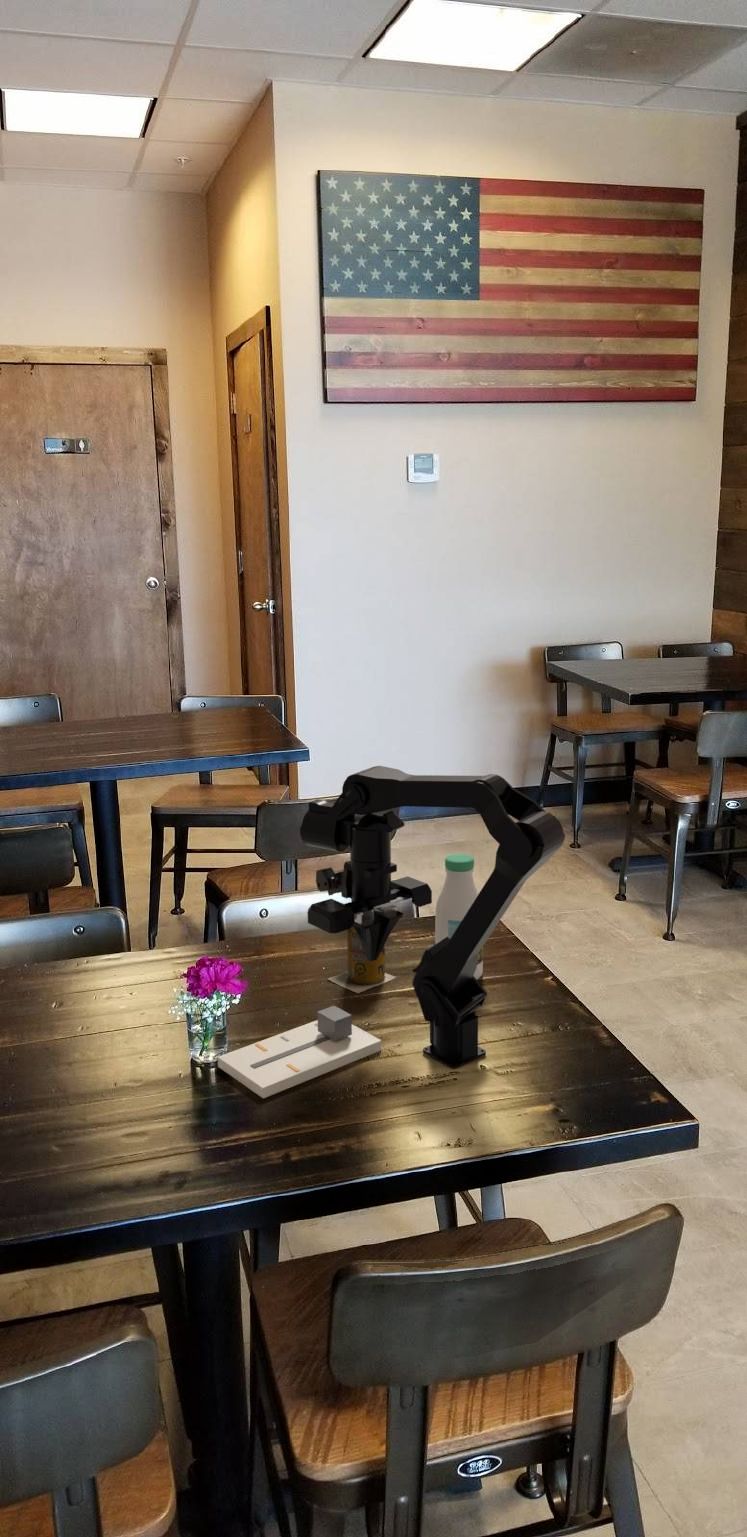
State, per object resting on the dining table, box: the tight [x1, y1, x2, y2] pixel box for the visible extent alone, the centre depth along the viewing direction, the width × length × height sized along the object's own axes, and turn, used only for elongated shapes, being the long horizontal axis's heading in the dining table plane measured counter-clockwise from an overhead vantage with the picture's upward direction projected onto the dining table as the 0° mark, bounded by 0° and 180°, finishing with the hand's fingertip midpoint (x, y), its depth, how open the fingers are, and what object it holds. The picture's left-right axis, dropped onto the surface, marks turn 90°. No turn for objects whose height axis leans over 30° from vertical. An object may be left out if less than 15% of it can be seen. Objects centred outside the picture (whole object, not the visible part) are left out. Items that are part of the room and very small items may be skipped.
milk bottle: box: [434, 853, 484, 981], centre depth 181 cm, size 8×8×20 cm
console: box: [217, 1019, 382, 1099], centre depth 157 cm, size 11×20×2 cm, turn 129°
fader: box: [316, 1005, 353, 1041], centre depth 160 cm, size 4×3×3 cm
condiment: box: [327, 926, 397, 994], centre depth 181 cm, size 7×8×12 cm
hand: (372, 960), depth 162 cm, fingers closed
